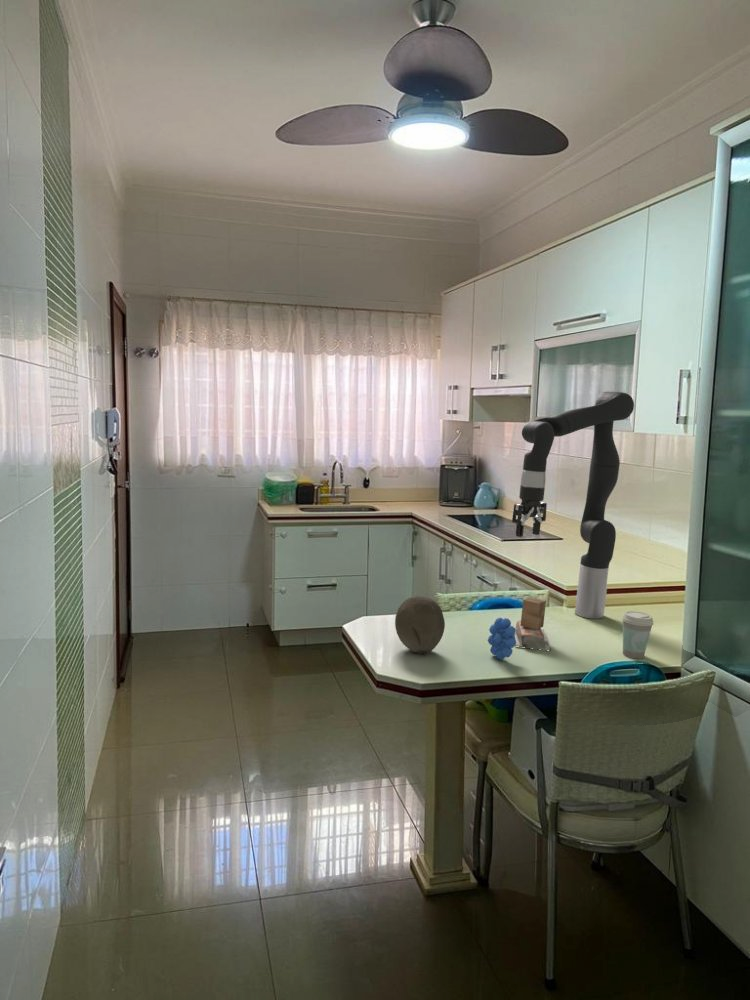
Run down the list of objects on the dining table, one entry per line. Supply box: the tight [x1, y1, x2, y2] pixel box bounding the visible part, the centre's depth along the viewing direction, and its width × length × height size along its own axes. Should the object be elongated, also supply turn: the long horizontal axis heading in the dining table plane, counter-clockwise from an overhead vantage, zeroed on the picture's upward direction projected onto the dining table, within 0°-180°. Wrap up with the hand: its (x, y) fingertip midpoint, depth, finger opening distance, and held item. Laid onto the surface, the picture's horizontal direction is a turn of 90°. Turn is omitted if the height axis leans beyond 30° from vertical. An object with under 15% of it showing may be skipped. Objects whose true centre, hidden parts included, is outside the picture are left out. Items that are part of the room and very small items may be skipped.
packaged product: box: [514, 620, 551, 651], centre depth 217 cm, size 18×5×10 cm
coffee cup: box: [621, 610, 654, 660], centre depth 209 cm, size 9×8×12 cm
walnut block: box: [520, 596, 547, 630], centre depth 216 cm, size 5×5×8 cm
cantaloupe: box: [394, 595, 446, 654], centre depth 200 cm, size 14×14×15 cm
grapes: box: [487, 617, 516, 661], centre depth 198 cm, size 12×7×12 cm, turn 23°
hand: (527, 535), depth 231 cm, fingers open, 8 cm apart
